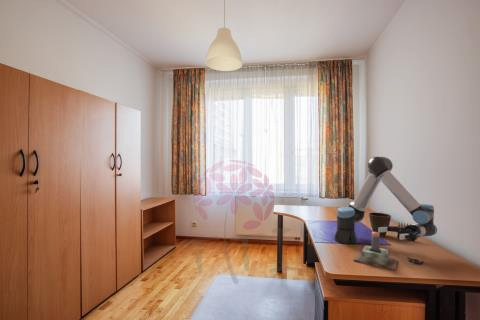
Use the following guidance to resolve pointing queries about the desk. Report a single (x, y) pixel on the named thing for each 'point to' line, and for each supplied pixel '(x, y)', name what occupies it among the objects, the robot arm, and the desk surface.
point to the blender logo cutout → (415, 261)
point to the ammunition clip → (400, 231)
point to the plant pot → (379, 221)
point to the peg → (375, 241)
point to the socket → (376, 258)
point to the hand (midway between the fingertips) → (388, 233)
